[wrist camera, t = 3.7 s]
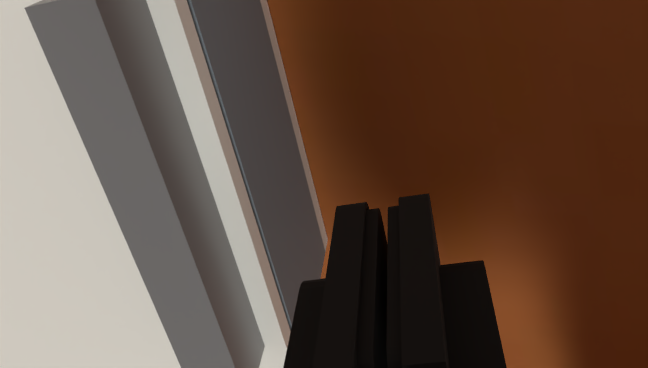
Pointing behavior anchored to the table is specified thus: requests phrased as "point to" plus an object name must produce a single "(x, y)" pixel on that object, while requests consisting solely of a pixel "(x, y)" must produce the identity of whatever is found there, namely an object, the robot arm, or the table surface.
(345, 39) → the table surface
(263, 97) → the box
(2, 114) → the lid
